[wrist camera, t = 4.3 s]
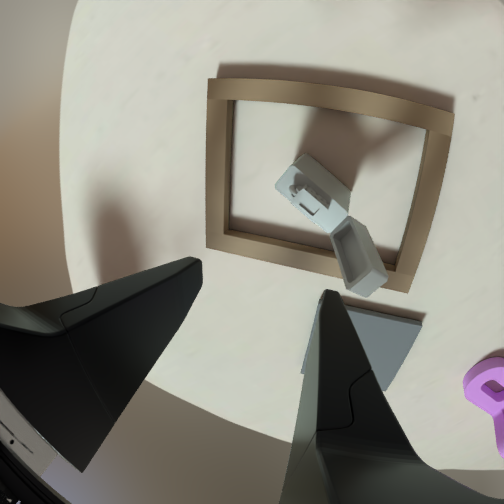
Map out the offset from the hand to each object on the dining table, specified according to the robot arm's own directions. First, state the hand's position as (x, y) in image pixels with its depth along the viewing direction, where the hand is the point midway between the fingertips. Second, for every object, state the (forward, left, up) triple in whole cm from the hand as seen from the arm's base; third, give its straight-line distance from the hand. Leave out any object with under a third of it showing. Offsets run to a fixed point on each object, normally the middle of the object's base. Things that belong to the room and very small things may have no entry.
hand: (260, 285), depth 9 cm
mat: (-6, +14, -13) cm, 20 cm away
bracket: (-25, +16, -13) cm, 32 cm away
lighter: (-1, +1, -13) cm, 13 cm away
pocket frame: (0, 0, -13) cm, 13 cm away
